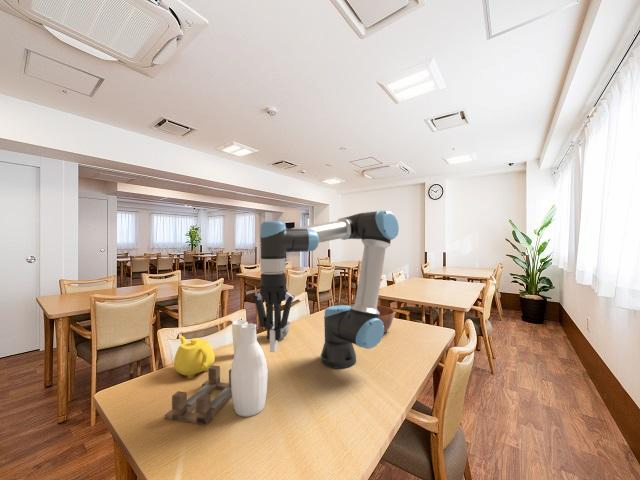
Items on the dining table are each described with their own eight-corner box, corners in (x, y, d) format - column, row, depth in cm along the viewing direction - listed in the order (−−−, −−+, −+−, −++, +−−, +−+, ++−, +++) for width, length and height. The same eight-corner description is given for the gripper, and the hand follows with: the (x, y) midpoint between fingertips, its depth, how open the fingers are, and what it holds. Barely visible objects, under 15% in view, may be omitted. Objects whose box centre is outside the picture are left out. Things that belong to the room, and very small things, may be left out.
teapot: (188, 385, 97) (188, 350, 97) (163, 369, 109) (163, 338, 109) (222, 370, 108) (222, 338, 108) (196, 357, 120) (196, 329, 120)
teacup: (295, 337, 143) (295, 322, 143) (277, 345, 134) (277, 328, 134) (276, 331, 153) (276, 317, 153) (258, 338, 143) (258, 323, 143)
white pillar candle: (243, 359, 118) (243, 325, 118) (229, 358, 119) (229, 324, 119) (250, 353, 124) (250, 320, 124) (237, 352, 125) (236, 319, 125)
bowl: (400, 338, 141) (399, 316, 141) (352, 338, 142) (352, 316, 142) (388, 323, 166) (388, 304, 166) (348, 323, 167) (347, 305, 167)
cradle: (241, 388, 95) (241, 368, 95) (207, 425, 76) (207, 400, 76) (206, 383, 98) (206, 364, 98) (164, 418, 79) (164, 394, 79)
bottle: (223, 417, 79) (222, 330, 79) (241, 396, 90) (240, 319, 90) (259, 421, 77) (259, 332, 77) (273, 398, 88) (272, 321, 88)
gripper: (297, 271, 84) (298, 347, 84) (258, 270, 87) (259, 344, 87) (289, 274, 77) (290, 357, 77) (247, 273, 79) (248, 353, 79)
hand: (273, 350), depth 82 cm, fingers closed
